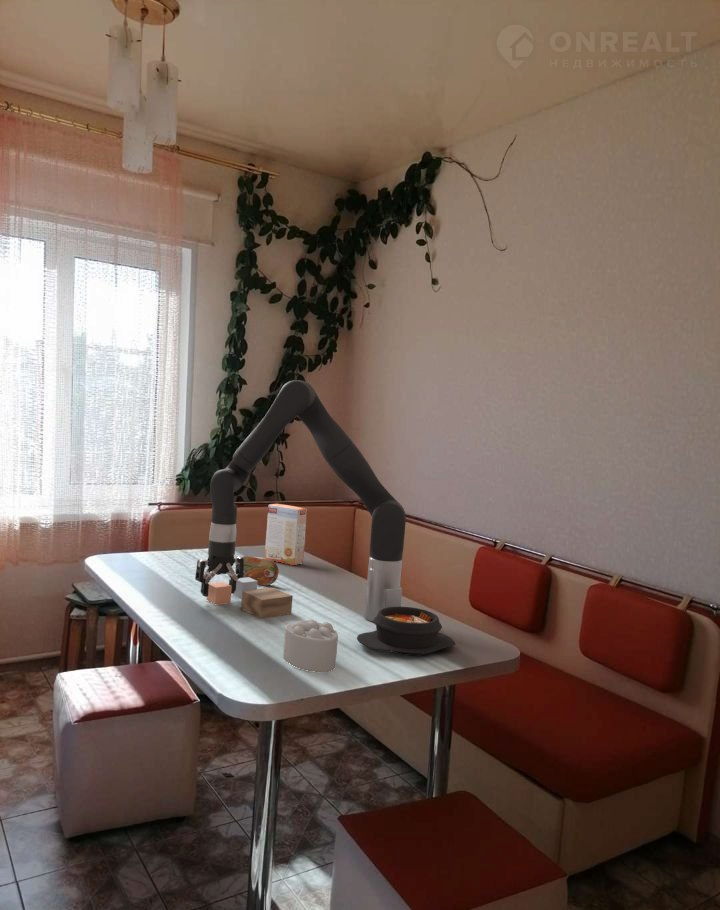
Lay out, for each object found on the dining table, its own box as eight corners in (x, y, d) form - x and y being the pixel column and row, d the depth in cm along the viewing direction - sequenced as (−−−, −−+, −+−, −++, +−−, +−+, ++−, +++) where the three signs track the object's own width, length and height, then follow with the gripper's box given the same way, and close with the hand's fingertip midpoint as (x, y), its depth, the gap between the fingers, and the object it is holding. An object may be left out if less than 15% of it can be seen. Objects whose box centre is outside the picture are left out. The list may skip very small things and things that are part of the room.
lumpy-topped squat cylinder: (316, 650, 169) (318, 614, 169) (346, 668, 159) (349, 630, 158) (277, 656, 163) (280, 619, 163) (306, 676, 153) (309, 636, 152)
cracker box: (303, 564, 261) (308, 508, 260) (293, 566, 256) (298, 509, 255) (274, 557, 269) (278, 502, 267) (263, 559, 263) (267, 503, 262)
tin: (234, 579, 231) (236, 554, 230) (240, 578, 234) (242, 552, 233) (273, 588, 224) (275, 561, 223) (278, 586, 227) (280, 560, 226)
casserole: (433, 633, 190) (436, 602, 189) (468, 658, 172) (471, 624, 172) (345, 637, 180) (348, 605, 180) (373, 663, 163) (376, 627, 163)
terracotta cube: (230, 603, 203) (231, 585, 203) (215, 605, 200) (216, 587, 200) (221, 598, 207) (222, 581, 207) (206, 600, 204) (207, 583, 204)
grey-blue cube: (256, 597, 212) (257, 580, 211) (241, 599, 208) (243, 582, 208) (247, 593, 215) (248, 577, 215) (232, 595, 212) (234, 578, 212)
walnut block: (291, 613, 197) (292, 595, 197) (260, 618, 191) (262, 600, 190) (271, 604, 205) (272, 587, 205) (241, 608, 198) (242, 591, 198)
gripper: (206, 542, 195) (202, 600, 196) (251, 539, 205) (246, 595, 205) (193, 537, 201) (189, 593, 202) (237, 534, 210) (233, 588, 211)
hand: (218, 594), depth 204 cm, fingers open, 8 cm apart
